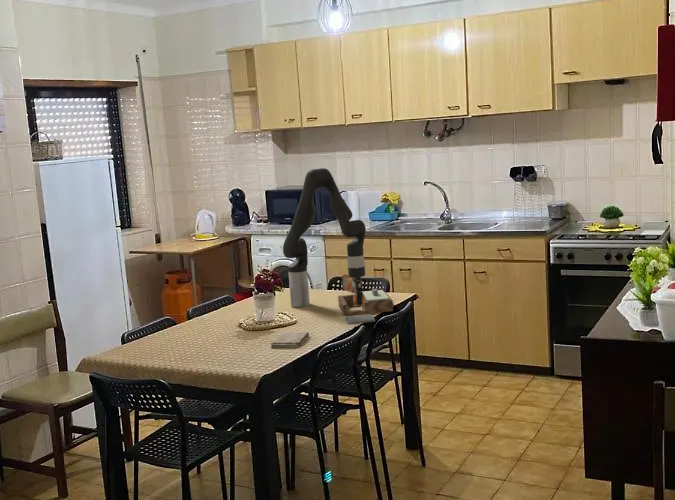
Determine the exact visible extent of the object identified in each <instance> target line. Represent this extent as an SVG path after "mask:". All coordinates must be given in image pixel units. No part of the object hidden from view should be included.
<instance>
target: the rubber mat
mask: <svg viewBox="0 0 675 500" xmlns="http://www.w3.org/2000/svg"><path fill="white" fill-rule="evenodd" d="M344 319H345V320H346V322H347V324H348V325H356V324H364V323H373V322H374V323H375V322H376V319H375V317H374V316H373V315H372V313H367V314H356V315H346V316H344Z"/></svg>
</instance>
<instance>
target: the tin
mask: <svg viewBox="0 0 675 500" xmlns="http://www.w3.org/2000/svg"><path fill="white" fill-rule="evenodd" d="M353 279H354V277H349V275H348V274H343V275H342V276H341V286H342V289H343V290H344V291H347V292H349V293H352V292H354V288H353Z"/></svg>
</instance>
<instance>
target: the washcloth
mask: <svg viewBox="0 0 675 500" xmlns="http://www.w3.org/2000/svg"><path fill="white" fill-rule="evenodd" d="M309 336H310V333H309V332H308V331H299V332H298V331H297V332H282V333H281V334H279V335H278V336H277V337H276V338H275V339H274V340H272V341H271V342H270V348H271V349H297V348H299V347H300V346H301V345H303V343H304V342H306V340H307V339H308V338H309ZM306 338H307V339H306ZM305 339H306V340H305ZM303 341H304V342H303ZM302 342H303V343H302ZM299 345H300V346H299ZM298 346H299V347H298Z"/></svg>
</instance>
